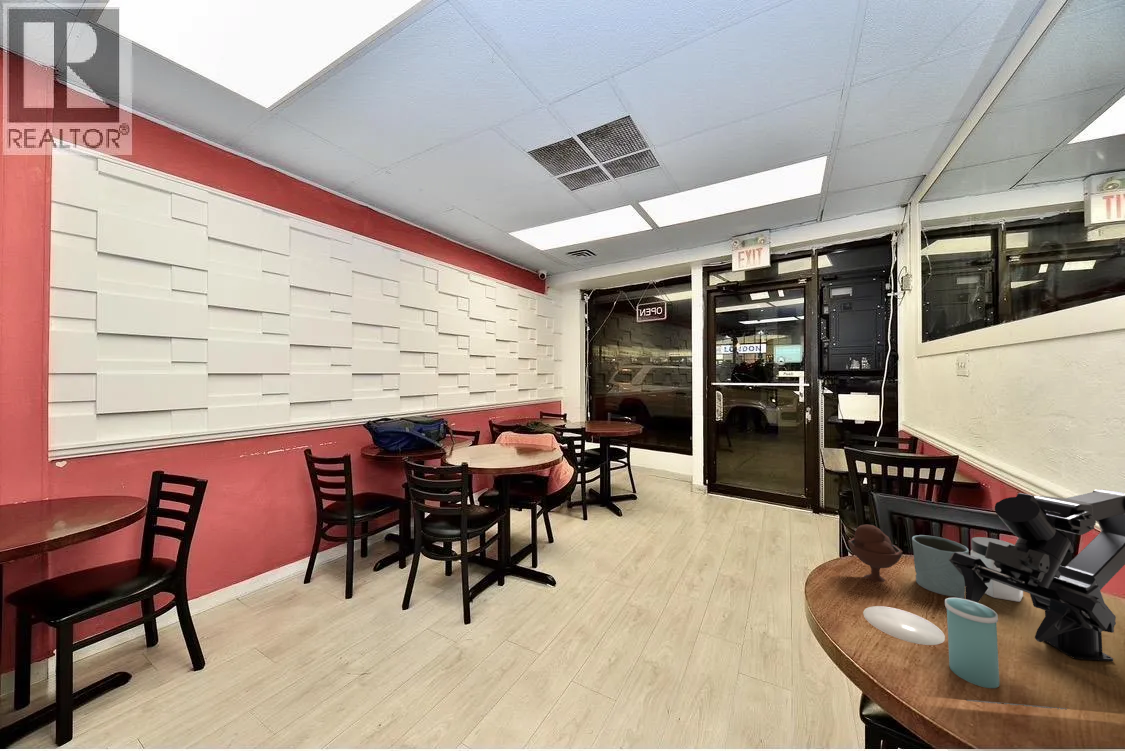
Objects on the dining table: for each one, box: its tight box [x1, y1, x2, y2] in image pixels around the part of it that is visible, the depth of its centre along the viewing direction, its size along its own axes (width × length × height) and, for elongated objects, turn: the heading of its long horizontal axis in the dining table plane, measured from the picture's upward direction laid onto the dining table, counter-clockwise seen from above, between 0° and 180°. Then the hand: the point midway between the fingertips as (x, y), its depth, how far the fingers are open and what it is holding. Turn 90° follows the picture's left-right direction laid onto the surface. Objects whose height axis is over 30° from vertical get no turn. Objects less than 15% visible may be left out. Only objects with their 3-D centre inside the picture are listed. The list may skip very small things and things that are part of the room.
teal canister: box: [944, 597, 1000, 689], centre depth 67 cm, size 6×6×12 cm
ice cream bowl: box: [847, 524, 903, 583], centre depth 100 cm, size 11×11×15 cm
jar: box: [970, 536, 1024, 603], centre depth 94 cm, size 9×8×12 cm
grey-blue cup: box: [911, 534, 970, 599], centre depth 95 cm, size 10×10×12 cm
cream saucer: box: [862, 605, 946, 646], centre depth 81 cm, size 13×13×1 cm
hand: (1000, 623), depth 69 cm, fingers open, 9 cm apart
